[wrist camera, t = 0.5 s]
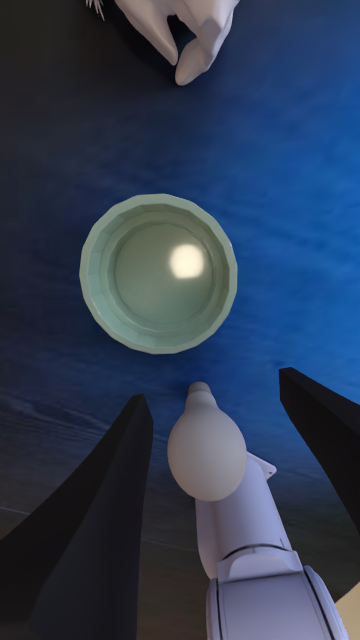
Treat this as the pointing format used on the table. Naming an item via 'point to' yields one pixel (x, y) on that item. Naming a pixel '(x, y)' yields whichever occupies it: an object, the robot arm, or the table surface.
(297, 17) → the table surface
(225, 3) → the white crouching figurine
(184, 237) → the bowl
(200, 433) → the lightbulb
